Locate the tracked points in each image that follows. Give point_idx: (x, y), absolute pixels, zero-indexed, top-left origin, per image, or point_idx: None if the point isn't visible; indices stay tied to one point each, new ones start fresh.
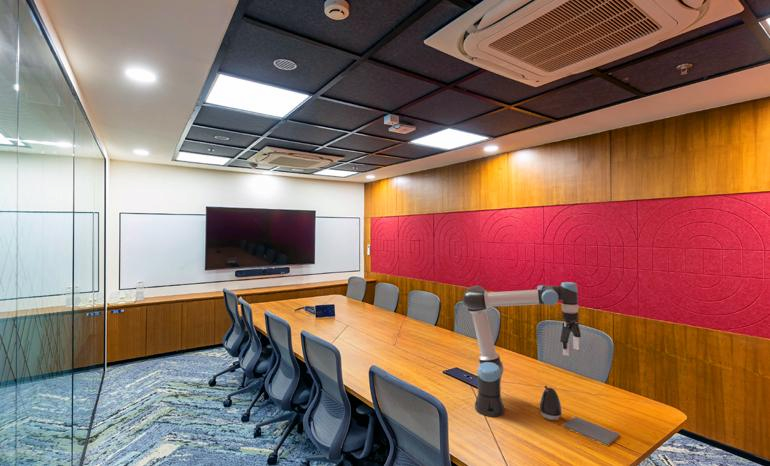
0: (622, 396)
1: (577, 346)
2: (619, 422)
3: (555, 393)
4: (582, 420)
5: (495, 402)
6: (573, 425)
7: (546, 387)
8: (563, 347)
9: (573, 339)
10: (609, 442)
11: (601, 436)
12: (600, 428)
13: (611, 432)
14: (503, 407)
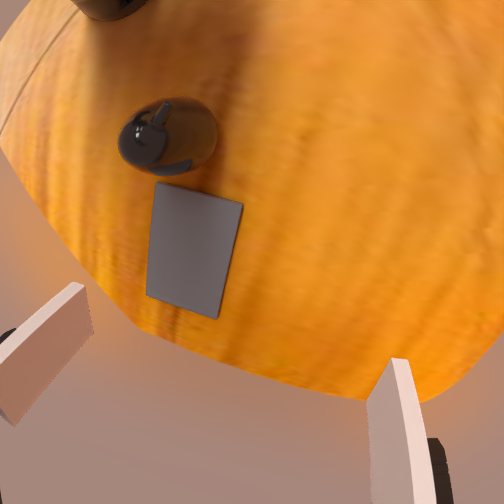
0: (490, 308)
1: (374, 424)
2: (303, 315)
3: (136, 168)
4: (226, 229)
5: (77, 4)
6: (173, 211)
7: (157, 114)
8: (1, 340)
9: (407, 475)
10: (156, 298)
11: (169, 282)
12: (211, 278)
13: (209, 302)
14: (116, 11)
